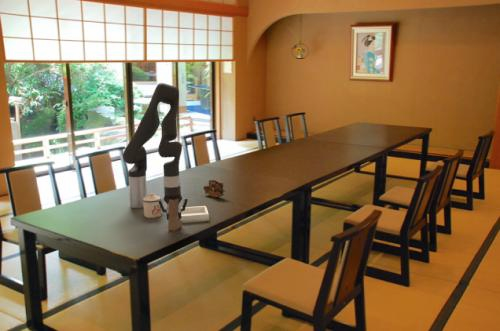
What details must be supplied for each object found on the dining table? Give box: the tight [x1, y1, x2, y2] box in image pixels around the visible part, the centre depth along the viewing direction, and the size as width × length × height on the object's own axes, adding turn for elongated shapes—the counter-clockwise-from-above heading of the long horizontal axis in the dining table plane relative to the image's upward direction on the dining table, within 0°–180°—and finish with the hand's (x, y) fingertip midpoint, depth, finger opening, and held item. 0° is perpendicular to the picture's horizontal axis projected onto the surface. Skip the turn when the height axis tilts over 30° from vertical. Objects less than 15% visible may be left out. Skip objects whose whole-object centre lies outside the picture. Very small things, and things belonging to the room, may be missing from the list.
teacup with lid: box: [143, 192, 162, 219], centre depth 253 cm, size 12×9×12 cm
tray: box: [181, 205, 210, 224], centre depth 248 cm, size 14×14×4 cm
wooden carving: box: [203, 179, 227, 198], centre depth 283 cm, size 16×5×10 cm, turn 53°
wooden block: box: [167, 198, 183, 232], centre depth 231 cm, size 7×3×15 cm, turn 154°
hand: (174, 219), depth 232 cm, fingers closed on wooden block, 4 cm apart
